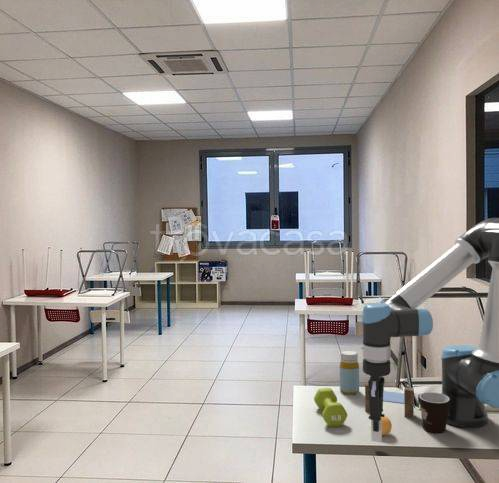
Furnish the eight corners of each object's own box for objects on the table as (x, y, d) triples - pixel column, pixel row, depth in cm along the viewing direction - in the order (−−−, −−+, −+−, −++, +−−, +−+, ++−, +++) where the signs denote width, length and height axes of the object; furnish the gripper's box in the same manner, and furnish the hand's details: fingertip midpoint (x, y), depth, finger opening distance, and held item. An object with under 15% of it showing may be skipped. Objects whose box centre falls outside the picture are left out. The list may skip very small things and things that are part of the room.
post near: (413, 414, 160) (413, 387, 160) (412, 417, 158) (412, 390, 157) (405, 413, 161) (405, 386, 161) (404, 416, 159) (404, 389, 158)
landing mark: (408, 394, 177) (408, 393, 177) (406, 403, 169) (406, 403, 169) (383, 391, 181) (383, 390, 181) (379, 400, 173) (379, 400, 173)
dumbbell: (348, 427, 153) (348, 405, 152) (323, 429, 152) (323, 406, 152) (336, 406, 169) (335, 386, 169) (313, 407, 169) (312, 387, 168)
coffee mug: (452, 436, 145) (452, 403, 144) (421, 435, 146) (421, 402, 146) (444, 419, 156) (444, 389, 155) (415, 418, 158) (415, 388, 157)
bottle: (351, 397, 176) (350, 356, 175) (336, 391, 182) (335, 352, 181) (363, 392, 181) (362, 352, 180) (348, 387, 186) (347, 348, 185)
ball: (392, 431, 149) (392, 414, 149) (390, 439, 144) (390, 421, 144) (374, 428, 151) (374, 411, 151) (371, 436, 146) (371, 418, 146)
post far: (374, 409, 165) (374, 383, 165) (373, 412, 163) (372, 386, 162) (366, 408, 166) (366, 382, 166) (365, 411, 164) (365, 385, 163)
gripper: (366, 351, 144) (367, 428, 146) (358, 364, 132) (358, 448, 134) (393, 353, 141) (393, 432, 143) (387, 367, 130) (387, 453, 131)
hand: (376, 440), depth 139 cm, fingers closed
